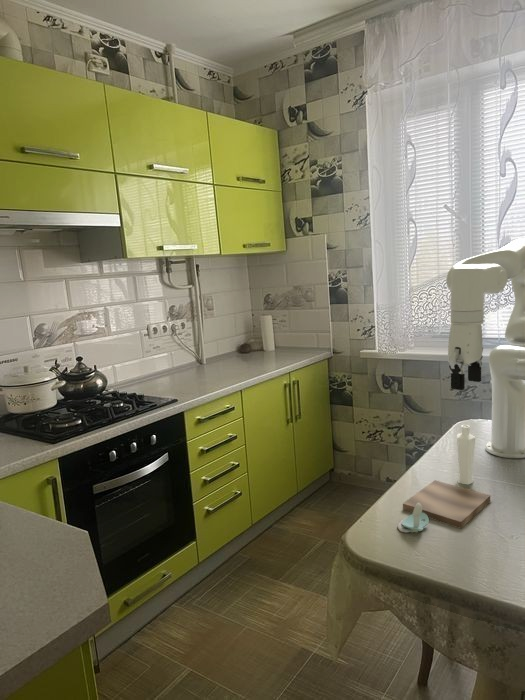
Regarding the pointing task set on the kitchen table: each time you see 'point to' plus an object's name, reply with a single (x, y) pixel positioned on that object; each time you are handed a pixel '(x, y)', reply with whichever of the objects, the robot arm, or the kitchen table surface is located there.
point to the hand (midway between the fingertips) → (466, 385)
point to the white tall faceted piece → (465, 455)
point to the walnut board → (448, 503)
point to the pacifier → (414, 521)
